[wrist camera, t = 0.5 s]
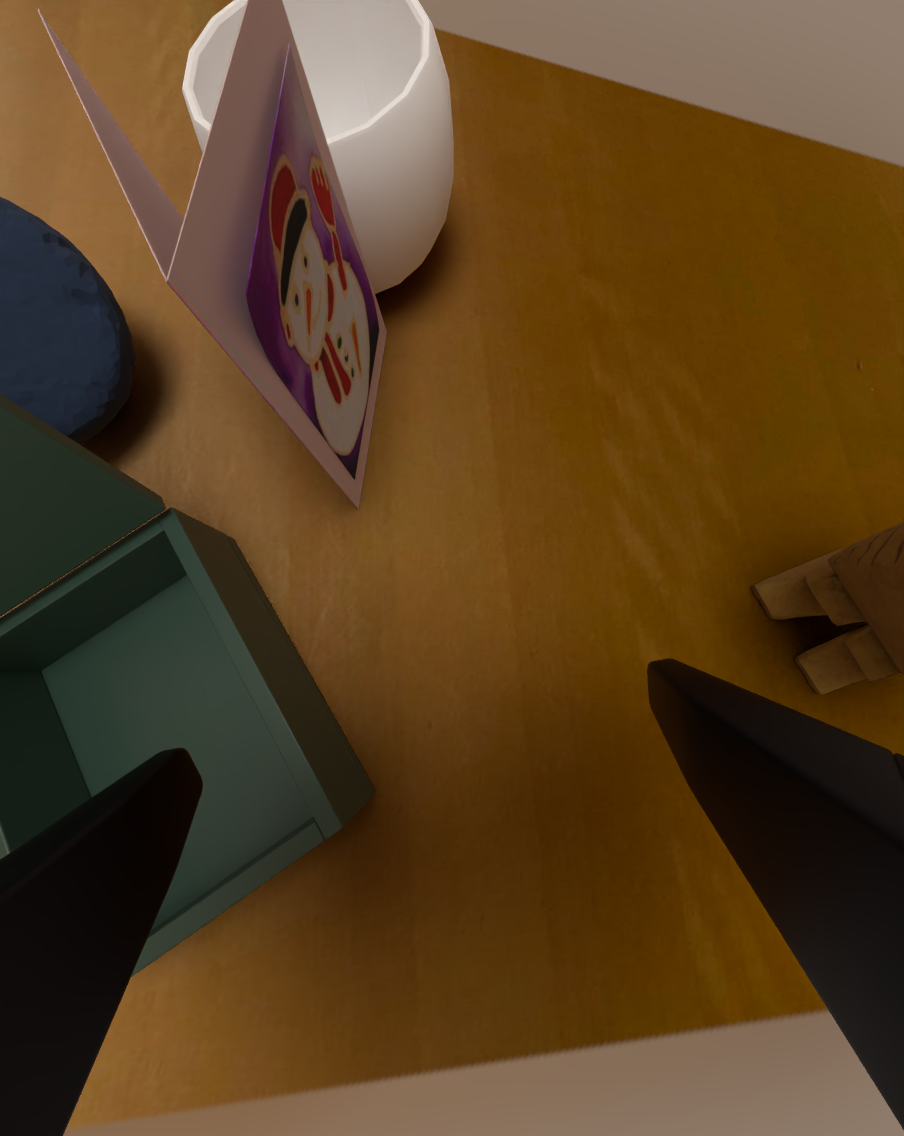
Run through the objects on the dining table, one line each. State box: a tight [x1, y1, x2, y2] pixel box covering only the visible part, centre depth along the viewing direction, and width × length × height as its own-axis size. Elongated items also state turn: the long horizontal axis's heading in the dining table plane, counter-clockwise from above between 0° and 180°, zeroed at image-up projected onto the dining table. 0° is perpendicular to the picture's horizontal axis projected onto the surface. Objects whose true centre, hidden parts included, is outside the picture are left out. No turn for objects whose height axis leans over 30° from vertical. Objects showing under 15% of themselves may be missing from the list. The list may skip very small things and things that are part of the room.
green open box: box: [0, 508, 376, 977], centre depth 21 cm, size 16×13×5 cm
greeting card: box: [37, 0, 387, 509], centre depth 19 cm, size 11×7×15 cm, turn 174°
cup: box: [182, 0, 454, 294], centre depth 24 cm, size 12×12×10 cm
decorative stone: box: [0, 197, 136, 444], centre depth 23 cm, size 12×12×10 cm
